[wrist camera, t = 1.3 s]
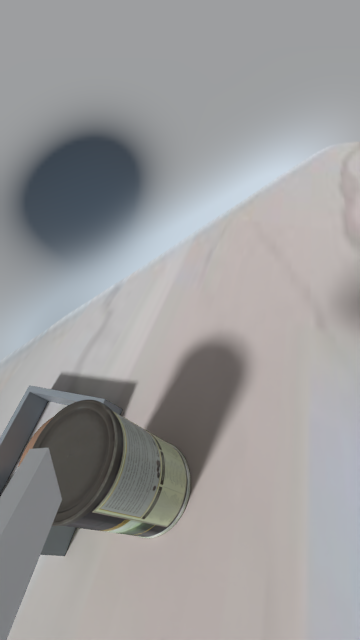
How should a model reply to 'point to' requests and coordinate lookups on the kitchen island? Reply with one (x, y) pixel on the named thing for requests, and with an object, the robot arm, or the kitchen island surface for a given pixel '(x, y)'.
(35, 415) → the grey square tray
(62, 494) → the coffee can
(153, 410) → the kitchen island surface
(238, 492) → the kitchen island surface
